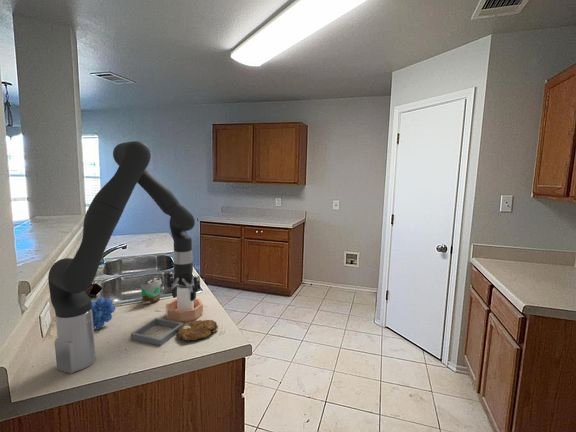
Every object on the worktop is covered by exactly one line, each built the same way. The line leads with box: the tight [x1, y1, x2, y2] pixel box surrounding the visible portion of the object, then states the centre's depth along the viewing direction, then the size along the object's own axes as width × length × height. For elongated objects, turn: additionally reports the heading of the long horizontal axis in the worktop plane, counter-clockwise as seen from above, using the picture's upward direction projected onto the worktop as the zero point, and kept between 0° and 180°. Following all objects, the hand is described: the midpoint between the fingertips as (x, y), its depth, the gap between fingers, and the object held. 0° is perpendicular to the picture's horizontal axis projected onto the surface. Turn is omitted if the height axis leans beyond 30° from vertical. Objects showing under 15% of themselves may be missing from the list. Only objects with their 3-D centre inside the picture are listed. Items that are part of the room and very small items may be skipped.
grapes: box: [91, 296, 116, 330], centre depth 119 cm, size 12×7×12 cm, turn 133°
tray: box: [130, 317, 185, 346], centre depth 116 cm, size 13×13×2 cm
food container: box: [140, 275, 163, 306], centre depth 144 cm, size 12×6×10 cm, turn 179°
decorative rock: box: [175, 319, 219, 342], centre depth 117 cm, size 11×4×15 cm
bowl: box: [165, 297, 204, 324], centre depth 131 cm, size 14×14×4 cm
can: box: [176, 284, 194, 312], centre depth 130 cm, size 6×6×12 cm
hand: (184, 298), depth 131 cm, fingers open, 8 cm apart
